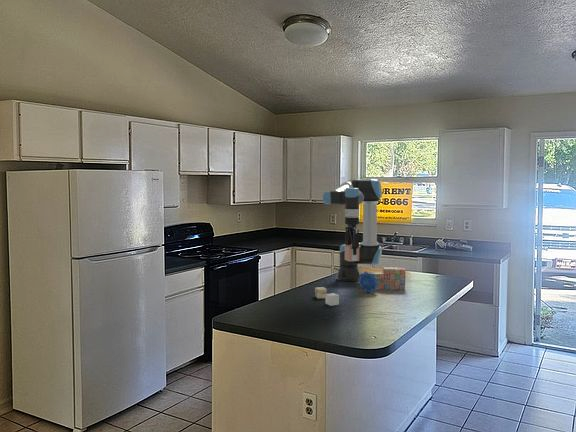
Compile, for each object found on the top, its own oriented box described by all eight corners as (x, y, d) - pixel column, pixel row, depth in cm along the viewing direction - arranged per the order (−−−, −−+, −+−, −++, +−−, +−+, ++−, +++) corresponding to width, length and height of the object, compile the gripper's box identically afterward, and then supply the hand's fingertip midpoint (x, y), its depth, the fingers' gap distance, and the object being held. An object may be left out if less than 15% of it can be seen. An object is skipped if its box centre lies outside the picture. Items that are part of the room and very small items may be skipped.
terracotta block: (344, 259, 273) (344, 245, 272) (355, 259, 274) (355, 244, 274) (348, 261, 267) (348, 246, 266) (359, 260, 268) (359, 246, 268)
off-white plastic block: (325, 303, 260) (325, 294, 260) (333, 302, 263) (333, 293, 263) (330, 305, 256) (330, 296, 256) (339, 304, 259) (339, 295, 258)
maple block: (315, 296, 277) (315, 287, 276) (323, 296, 278) (323, 287, 277) (317, 298, 272) (317, 289, 271) (326, 298, 273) (326, 289, 273)
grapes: (355, 293, 285) (355, 272, 285) (359, 290, 291) (359, 270, 291) (375, 295, 280) (375, 273, 279) (379, 292, 286) (379, 271, 285)
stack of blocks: (368, 289, 296) (368, 268, 295) (367, 287, 302) (367, 266, 301) (405, 290, 294) (405, 269, 293) (403, 287, 300) (403, 267, 299)
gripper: (339, 215, 277) (339, 257, 279) (351, 218, 259) (351, 263, 260) (352, 215, 279) (351, 256, 281) (365, 218, 260) (365, 262, 262)
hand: (351, 259), depth 271 cm, fingers closed on terracotta block, 6 cm apart
